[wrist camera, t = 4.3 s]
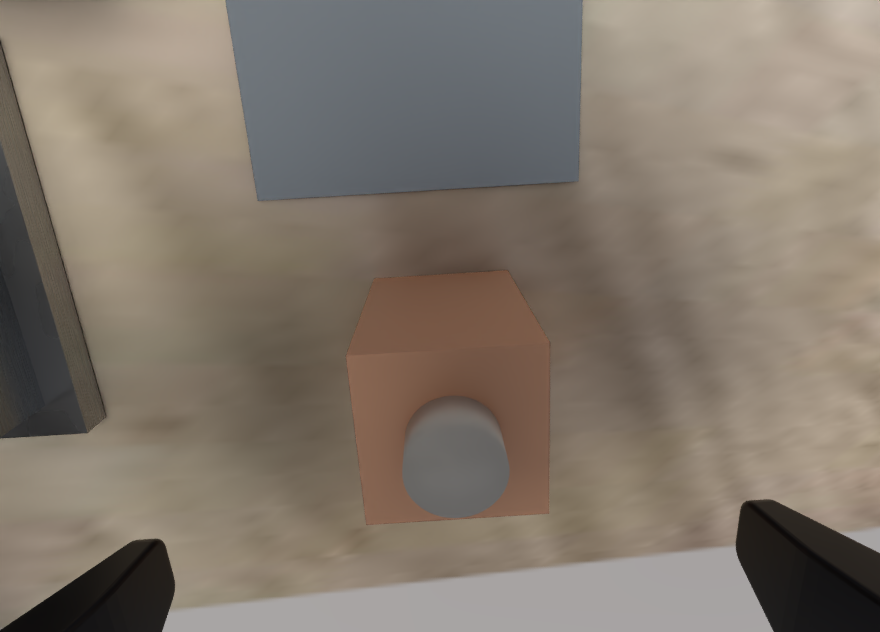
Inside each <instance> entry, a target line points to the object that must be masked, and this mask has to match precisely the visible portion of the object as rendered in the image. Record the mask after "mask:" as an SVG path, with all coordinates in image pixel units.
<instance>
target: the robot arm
mask: <svg viewBox="0 0 880 632" xmlns="http://www.w3.org/2000/svg"><path fill="white" fill-rule="evenodd" d="M736 552H737V556H738V559H739V561H740V563H741V566H742V568H743V570H744V572H745V574H746V575H747V578H748V580H749V582H750V584H751V586H752V588H753V590H754V592H755V594H756V596H757V598H758V600H759V602H760V605H761V606H762V609H763V611H764V613H765V615H766V617H767V619H768V621H769V623H770V625H771V627H772V629H773V631H774V632H880V553H878V552H876V551H874V550H872V549H870V548H868V547H866V546H864V545H862V544H860V543H858V542H856V541H854V540H852V539H850V538H848V537H846V536H844V535H842V534H840V533H838V532H836V531H834V530H832V529H830V528H828V527H826V526H824V525H822V524H820V523H818V522H816V521H814V520H812V519H810V518H808V517H806V516H804V515H802V514H800V513H798V512H796V511H794V510H792V509H790V508H788V507H786V506H784V505H782V504H780V503H778V502H776V501H774V500H769V499H764V500H749V501H746V502H744V503H743V504H742V506H741V510H740V516H739V523H738V530H737V537H736ZM174 591H175V580H174V576H173V572H172V568H171V564H170V561H169V557H168V553H167V549H166V546H165V544H164V542H163V541H162V540H160V539H143V540H135V541H132V542H130V543H129V544H127V545H126V546H124V547H123V548H121V549H120V550H118V551H117V552H115V553H114V554H112V555H111V556H109V557H108V558H106V559H105V560H103V561H102V562H101V563H99V564H98V565H96V566H95V567H93V568H92V569H90V570H89V571H87V572H86V573H84V574H83V575H81V576H80V577H78V578H77V579H75V580H74V581H72V582H71V583H69V584H68V585H66V586H65V587H64V588H62V589H61V590H59V591H58V592H56V593H55V594H53V595H52V596H50V597H49V598H47V599H46V600H44V601H43V602H41V603H40V604H38V605H37V606H35V607H34V608H32V609H31V610H29V611H28V612H27V613H25V614H24V615H22V616H21V617H19V618H18V619H16V620H15V621H13V622H12V623H10V624H9V625H7V626H6V627H4V628H3V629H1V630H0V632H162V630H163V627H164V624H165V621H166V618H167V615H168V612H169V609H170V606H171V603H172V600H173V596H174Z"/></svg>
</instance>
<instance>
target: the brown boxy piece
mask: <svg viewBox="0 0 880 632" xmlns="http://www.w3.org/2000/svg"><path fill="white" fill-rule="evenodd" d="M346 362H347V370H348V379H349V387H350V395H351V403H352V411H353V419H354V428H355V436H356V444H357V452H358V460H359V469H360V477H361V485H362V493H363V501H364V510H365V518H366V525H373V524H389V523H405V522H421V521H437V520H453V519H469V518H485V517H501V516H517V515H533V514H549V450H550V342H549V340H548V339H547V337H546V335H545V333H544V332H543V330H542V328H541V327H540V325H539V323H538V321H537V320H536V318H535V316H534V315H533V313H532V311H531V309H530V308H529V306H528V304H527V303H526V301H525V299H524V297H523V296H522V294H521V292H520V291H519V289H518V287H517V285H516V284H515V282H514V280H513V279H512V277H511V275H510V273H509V272H508V270H504V271H487V272H471V273H455V274H439V275H423V276H407V277H390V278H374V280H373V283H372V286H371V289H370V291H369V294H368V297H367V299H366V302H365V305H364V308H363V310H362V313H361V316H360V318H359V321H358V324H357V327H356V329H355V332H354V335H353V337H352V340H351V343H350V346H349V348H348V351H347V354H346Z"/></svg>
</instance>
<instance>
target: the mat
mask: <svg viewBox="0 0 880 632" xmlns="http://www.w3.org/2000/svg"><path fill="white" fill-rule="evenodd" d="M582 2H583V0H226V7H227V13H228V19H229V25H230V31H231V38H232V44H233V50H234V56H235V62H236V69H237V75H238V81H239V87H240V93H241V100H242V106H243V112H244V118H245V124H246V131H247V137H248V143H249V149H250V155H251V162H252V168H253V174H254V180H255V186H256V193H257V199H258V201H263V200H280V199H296V198H313V197H329V196H345V195H362V194H378V193H394V192H411V191H427V190H443V189H460V188H476V187H492V186H509V185H525V184H542V183H558V182H574V181H579V136H580V91H581V46H582Z"/></svg>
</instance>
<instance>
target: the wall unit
mask: <svg viewBox="0 0 880 632" xmlns="http://www.w3.org/2000/svg"><path fill="white" fill-rule="evenodd" d="M105 417H106V415H105V412H104V408H103V405H102V401H101V398H100V394H99V390H98V387H97V383H96V380H95V376H94V373H93V369H92V366H91V362H90V359H89V355H88V352H87V348H86V345H85V341H84V338H83V334H82V330H81V327H80V323H79V320H78V316H77V313H76V309H75V306H74V302H73V299H72V295H71V292H70V288H69V285H68V281H67V278H66V274H65V270H64V267H63V263H62V260H61V256H60V253H59V249H58V246H57V242H56V239H55V235H54V232H53V228H52V225H51V221H50V218H49V214H48V211H47V207H46V203H45V200H44V196H43V193H42V189H41V186H40V182H39V179H38V175H37V172H36V168H35V165H34V161H33V158H32V154H31V151H30V147H29V143H28V140H27V136H26V133H25V129H24V126H23V122H22V119H21V115H20V112H19V108H18V105H17V101H16V98H15V94H14V91H13V87H12V83H11V80H10V76H9V73H8V69H7V66H6V62H5V59H4V55H3V52H2V48H1V45H0V438H15V437H31V436H47V435H63V434H79V433H88V432H89V431H90V430H92V429H93V428H94V427H95V426H96V425H97V424H98V423H100V422H101V421H102V420H103V419H104V418H105Z"/></svg>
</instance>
